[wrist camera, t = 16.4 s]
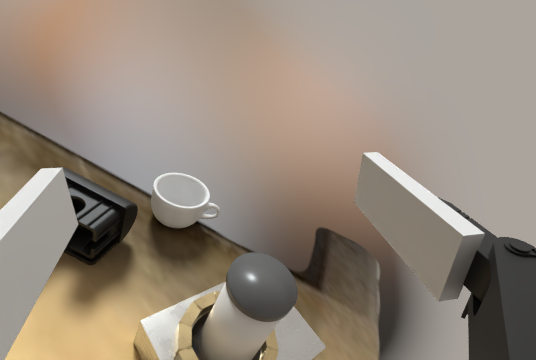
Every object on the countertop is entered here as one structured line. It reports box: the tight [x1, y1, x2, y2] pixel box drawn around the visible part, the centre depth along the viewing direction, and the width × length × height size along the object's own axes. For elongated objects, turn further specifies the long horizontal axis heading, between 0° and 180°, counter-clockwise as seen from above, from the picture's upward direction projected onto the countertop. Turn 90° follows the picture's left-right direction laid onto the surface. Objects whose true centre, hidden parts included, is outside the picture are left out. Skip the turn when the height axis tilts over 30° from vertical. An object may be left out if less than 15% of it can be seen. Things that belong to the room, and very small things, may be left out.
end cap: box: [59, 167, 138, 265], centre depth 38 cm, size 10×7×7 cm
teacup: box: [151, 173, 220, 228], centre depth 47 cm, size 10×8×5 cm
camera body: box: [134, 282, 326, 360], centre depth 34 cm, size 16×12×6 cm
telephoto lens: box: [198, 253, 297, 360], centre depth 29 cm, size 6×6×10 cm
